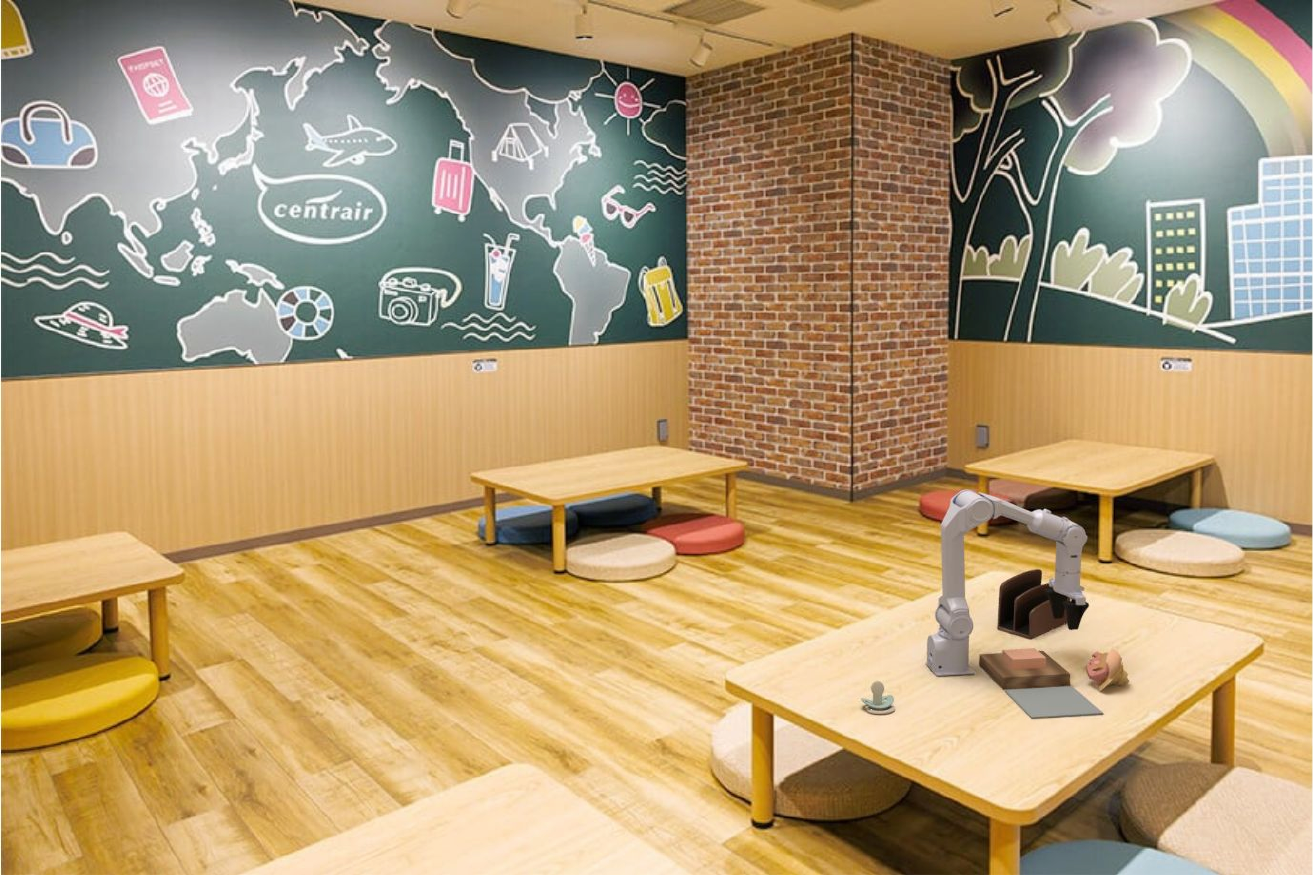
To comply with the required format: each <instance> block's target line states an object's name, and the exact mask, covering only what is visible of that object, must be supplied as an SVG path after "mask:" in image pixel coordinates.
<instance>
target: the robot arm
mask: <svg viewBox="0 0 1313 875" xmlns="http://www.w3.org/2000/svg"><path fill="white" fill-rule="evenodd" d="M949 502H950V504H949V506H948V509H947V511H946V513H945V515H944V517H943V520H942V522H941V523H940V524H941V525H940V543H941V544H940V549H941V550H940V552H941V583H942V584H941V585H942V587H941V589H942V595H940V597H939V598H938V603H937V608H936V609H935V613H934V617H935V620H936V622H937V623H938V624H939V627H938V629H937V630H938V631H937V633H935V634H930V635H929V636H928V637H927V641H926V661H925V664H926V666H927V667H928V668H929V669H930V670H931V671H932V673H933V674H934V675H935V676H936V677H943V676H946V677H947V676H962V675H964V676H965V675H974V674H975V671H974V670H973V669H972V668H971V667H970V666H969V655H970V654H969V652H970V650H969V649H970V647H969V646H970V635H971V634H972V633H973V630H974V621H973V618H972V617H971V615H970V606H969V605H968V603H967V599H966V580H965V578H966V576H965V575H966V574H965V569H966V568H965V565H966V564H965V535H966V534H967V533H968V532H969V531H971V530H972V529H974V528H977V527H979V526H981V525H983V524H986V523H987V522H989V521H990V520H991V518H992V519H993V520H995V519H997V518H998V517H1001V516H1002V517H1005V518H1008V519H1011V520H1014V521H1017V522H1019V523H1022V524H1025V525H1026V526H1027V528H1028V530H1029V531H1030V533H1034V534H1036V535H1039V536H1041V537H1044V538H1046V539H1049V540H1052V541H1054V542H1055V561H1054V562H1055V563H1054V565H1055V566H1054V577H1053V578H1049V579H1048V583H1049V586H1050V587H1052V588H1051V589H1046V590H1045V592H1046V594H1047V596H1048V598H1049V601H1050V604H1051V608H1052V613H1053V617H1054V619H1059V618H1063V616H1064V610H1066V614H1067V623H1066V624H1067V628H1068V630H1069V631H1076V630H1078V629H1079V627H1080V625H1081V624H1080V623H1081V622H1082V618H1083V616H1084V614H1085V613H1086V611H1087V609H1088V608H1089V607H1090V604H1089V602H1087V600H1086V599H1087V597H1086V596H1085V595H1084V594H1083V591H1085V587H1084V586H1083V585H1081V573H1082V572H1081V571H1082V552H1083V546H1084V545H1085V544H1086V543H1087V541H1088V535H1086V534H1087V533H1086V530H1085V529H1084V527H1083V526H1081V525H1079V524H1077V523H1075V522H1073V521H1071V520H1070V519H1069V518H1068V517H1065V516H1062V517H1060V516H1058V515H1055V514H1053V513H1052V511H1051V510H1049V509H1047V508H1044V509H1035V510H1033V511H1030V510H1027V509H1025V508H1023V507H1020V506H1019V505H1015V504H1013V503H1011V502H1009V501H1006V500H1004V499H1002V498H999V497H996V496H994V495H990V494H988V493H984V492H975V491H974V490H973V489H963V490H960V491H959V492H958V493H957V494H955V495H954V496H952V497H951V498H950V501H949ZM1068 597H1069V598H1070V599H1071V601H1067V598H1068Z"/></svg>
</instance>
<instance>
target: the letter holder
mask: <svg viewBox="0 0 1313 875" xmlns="http://www.w3.org/2000/svg"><path fill="white" fill-rule="evenodd" d="M1042 579H1043V571H1042V569H1040V568H1035V569H1030V570H1027V571H1026V570H1025V571H1023V572H1020V573H1018V574H1016V575H1015V576H1012V577H1010V578H1008V579H1006V580H1005V581H1003V582H1002V583H1000V586H999V589H998V590H999V591H998V592H999V593H998V608H997V609H998V611H997V624H996V625H997V627H996V628H997V630H998V631H1000V632H1004V633H1007V634H1011V635H1014V636H1017V637H1020V638H1023V639H1027V640H1029V641H1030V640H1032V639H1035V638H1037V637H1039V636H1041V635H1043V634H1046V633H1049V632H1050V631H1053V630H1055V629H1057V628H1059V627H1061V626H1064V625H1066V624H1067V614H1066V610H1064V616H1063V618H1059V619H1054V617H1053V613H1052V608H1051V604H1050V601H1049V598H1048V596H1047V594H1046V592H1045V590H1046V589H1051V588H1052V587H1050V586H1049V582H1048V583H1043V584H1042ZM1067 601H1071V598H1069V597H1068V598H1067Z"/></svg>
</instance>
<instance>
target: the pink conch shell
mask: <svg viewBox="0 0 1313 875" xmlns="http://www.w3.org/2000/svg"><path fill="white" fill-rule="evenodd" d="M1091 657H1092V658H1091V659H1089V663H1088V664H1087V665H1086V666H1085V668H1086V674H1087V677H1088V679H1089V680H1092V681H1095V682H1096V683H1097V684H1100V685H1099V686H1098V692H1101V691H1102V690H1103V689H1105V687H1107V686H1110V685H1113V684H1114V685H1115V686H1118V687H1120V686H1122V685H1127V684H1129V683H1130V680H1129V679H1128V677H1129V673H1128V672H1127V671H1126V670H1124V662H1123V661H1122V660H1123V658H1122V657H1121V655H1120V653H1119V652H1118V651H1117V650H1116V649H1114V648H1111V649H1110V650H1109V652H1103V653H1102V652H1101V653H1100V652H1099V651H1095V652H1094V653H1092V655H1091Z"/></svg>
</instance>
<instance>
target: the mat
mask: <svg viewBox="0 0 1313 875" xmlns="http://www.w3.org/2000/svg"><path fill="white" fill-rule="evenodd" d="M1004 692H1005V694H1007V695H1008V697H1010V699H1012V701H1013V702H1014V703H1016V705H1017V706H1019V708H1020V709H1021V710H1022V711H1023V712H1024V713H1025V714H1027V716H1028V717H1029V718H1030V719H1032V720H1037V719H1038V720H1039V719H1054V718H1065V717H1066V718H1068V717H1069V718H1071V717H1082V716H1083V717H1086V716H1088V717H1090V716H1103V715H1104V712H1103V711H1102V710H1100V708H1098V706H1096V705H1095V704H1094V703H1092V701H1090V700H1089V699H1088V698H1087V697H1086V696H1084V695H1083V693H1081V692H1080V691H1079V690H1077V689H1076V688H1075V687H1074V686H1072V685H1070V686H1059V687H1042V688H1025V689H1008V690H1004Z"/></svg>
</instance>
